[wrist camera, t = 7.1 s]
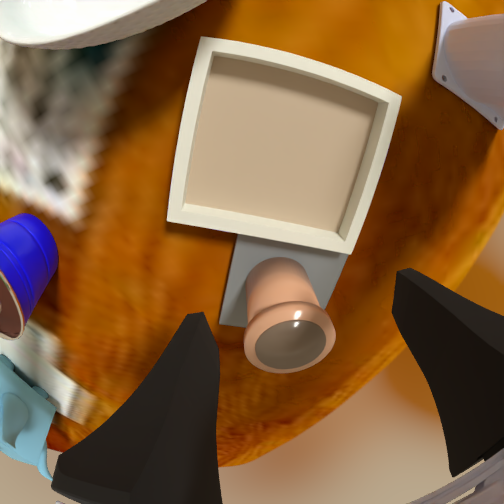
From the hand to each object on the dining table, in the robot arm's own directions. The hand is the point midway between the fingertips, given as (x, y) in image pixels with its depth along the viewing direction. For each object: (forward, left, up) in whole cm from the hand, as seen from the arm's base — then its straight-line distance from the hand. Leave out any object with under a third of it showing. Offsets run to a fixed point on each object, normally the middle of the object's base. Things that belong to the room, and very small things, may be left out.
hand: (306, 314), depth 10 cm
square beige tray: (+1, -5, -10) cm, 11 cm away
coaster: (-2, +5, -10) cm, 11 cm away
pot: (-1, +5, -9) cm, 11 cm away
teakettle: (+32, +32, -10) cm, 46 cm away
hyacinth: (+19, +6, -10) cm, 22 cm away
